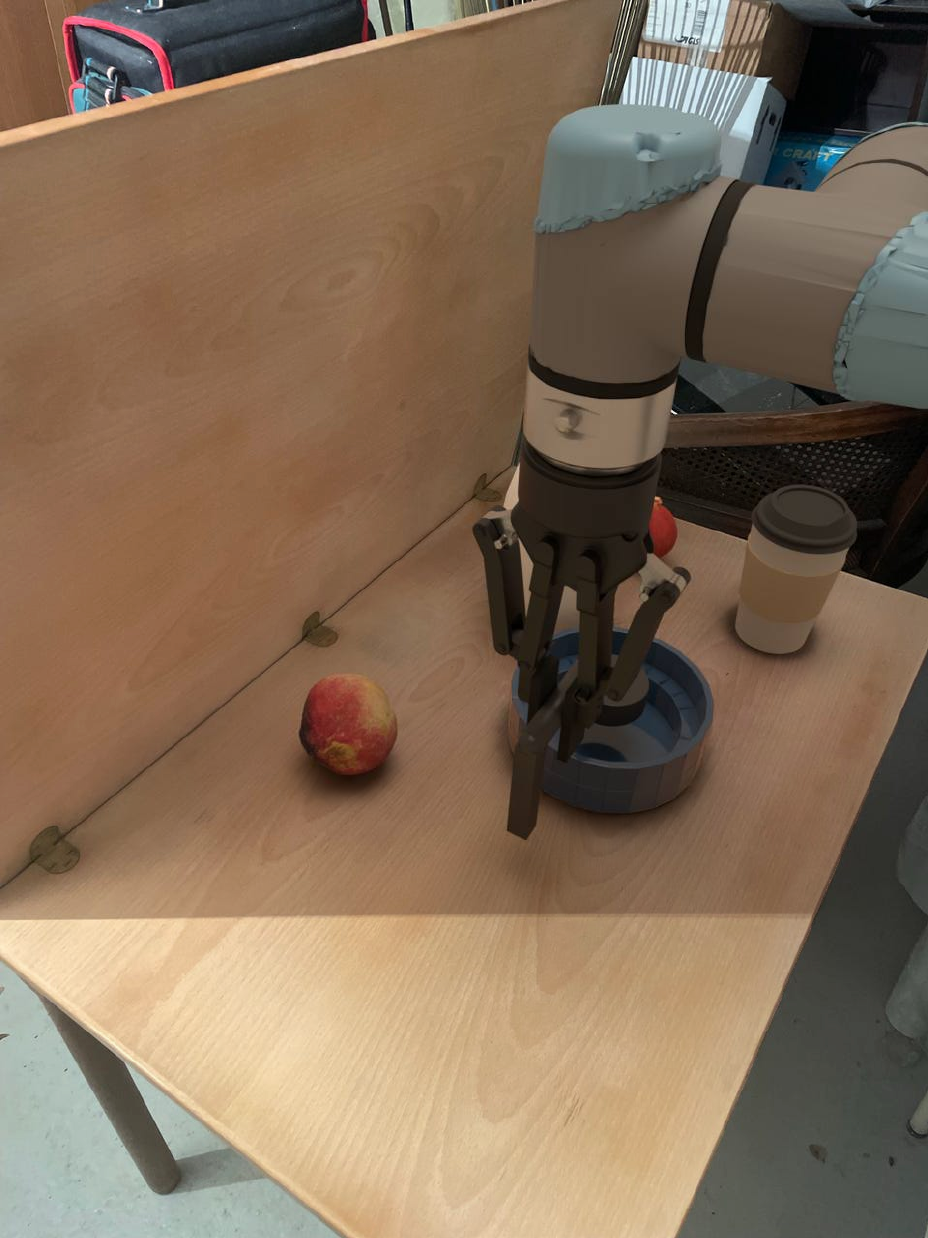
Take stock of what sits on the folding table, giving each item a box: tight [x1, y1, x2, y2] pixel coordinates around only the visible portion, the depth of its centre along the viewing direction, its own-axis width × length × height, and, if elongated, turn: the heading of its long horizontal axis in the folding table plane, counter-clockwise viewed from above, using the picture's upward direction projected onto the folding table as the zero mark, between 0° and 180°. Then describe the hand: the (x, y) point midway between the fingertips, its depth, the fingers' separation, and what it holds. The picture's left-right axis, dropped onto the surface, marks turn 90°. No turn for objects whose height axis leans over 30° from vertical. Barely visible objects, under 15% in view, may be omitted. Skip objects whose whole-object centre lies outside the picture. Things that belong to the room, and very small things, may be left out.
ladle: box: [505, 654, 649, 841], centre depth 66 cm, size 19×6×10 cm, turn 149°
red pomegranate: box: [650, 496, 678, 559], centre depth 94 cm, size 6×6×8 cm
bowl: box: [507, 625, 715, 814], centre depth 75 cm, size 16×16×6 cm
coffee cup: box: [734, 484, 858, 655], centre depth 83 cm, size 9×9×15 cm
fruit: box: [298, 673, 399, 776], centre depth 72 cm, size 8×8×8 cm
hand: (554, 741), depth 63 cm, fingers closed on ladle, 2 cm apart
